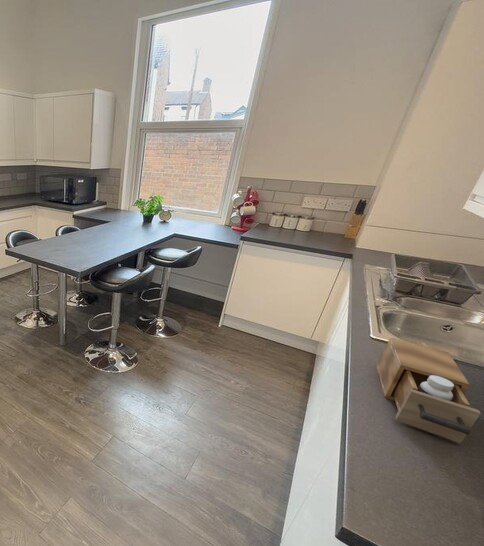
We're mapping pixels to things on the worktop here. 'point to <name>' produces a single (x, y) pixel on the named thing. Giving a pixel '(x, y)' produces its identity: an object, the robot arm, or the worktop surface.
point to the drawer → (433, 408)
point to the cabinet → (415, 365)
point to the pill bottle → (437, 387)
